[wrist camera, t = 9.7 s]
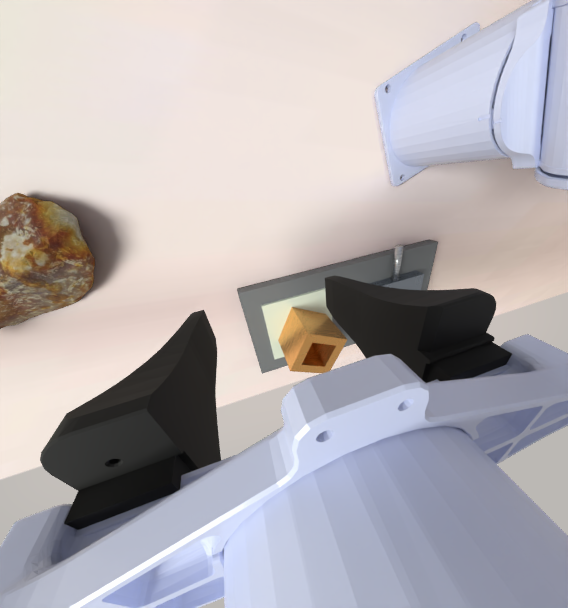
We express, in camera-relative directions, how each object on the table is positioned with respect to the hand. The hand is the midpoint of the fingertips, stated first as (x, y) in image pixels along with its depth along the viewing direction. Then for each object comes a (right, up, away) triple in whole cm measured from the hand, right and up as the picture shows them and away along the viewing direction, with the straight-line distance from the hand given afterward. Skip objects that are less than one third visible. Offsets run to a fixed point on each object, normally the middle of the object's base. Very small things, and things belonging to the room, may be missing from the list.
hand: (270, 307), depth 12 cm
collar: (+3, -3, +13) cm, 14 cm away
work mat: (+8, 0, +15) cm, 17 cm away
